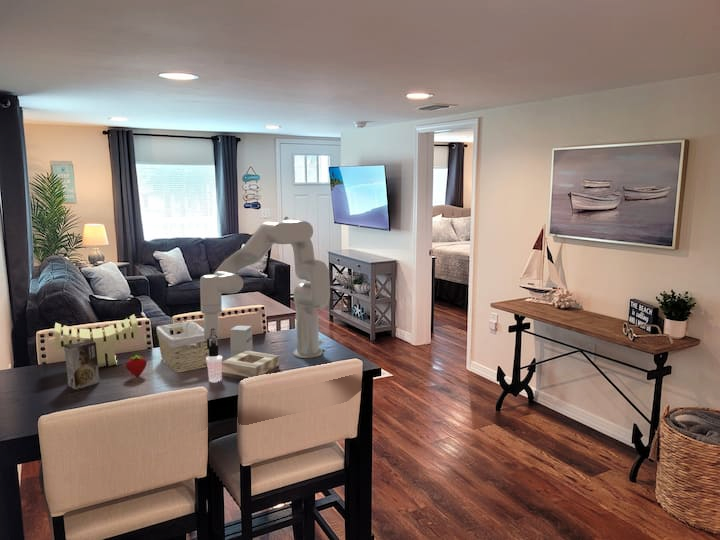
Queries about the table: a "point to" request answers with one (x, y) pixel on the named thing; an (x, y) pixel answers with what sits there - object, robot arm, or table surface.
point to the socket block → (250, 364)
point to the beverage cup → (214, 368)
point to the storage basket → (183, 346)
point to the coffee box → (81, 363)
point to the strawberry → (136, 365)
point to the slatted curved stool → (100, 338)
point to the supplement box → (240, 339)
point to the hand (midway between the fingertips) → (212, 352)
